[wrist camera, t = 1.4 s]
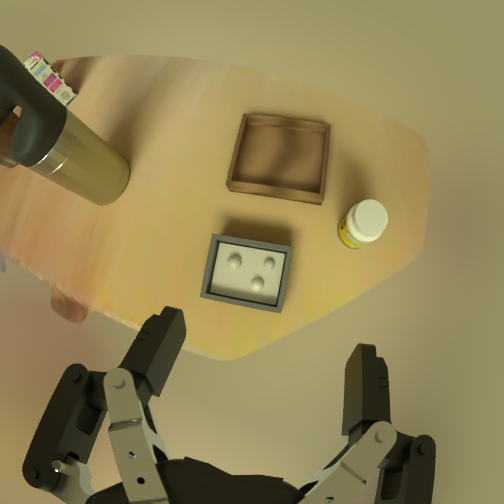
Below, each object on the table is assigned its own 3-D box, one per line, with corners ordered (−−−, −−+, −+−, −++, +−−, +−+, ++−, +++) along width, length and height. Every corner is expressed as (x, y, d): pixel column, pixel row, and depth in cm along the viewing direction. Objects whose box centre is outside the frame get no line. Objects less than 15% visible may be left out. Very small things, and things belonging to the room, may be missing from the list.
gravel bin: (207, 296, 36) (199, 297, 33) (218, 238, 37) (212, 233, 34) (281, 311, 35) (281, 313, 31) (291, 251, 36) (292, 246, 32)
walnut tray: (229, 191, 38) (225, 184, 35) (245, 123, 39) (243, 113, 37) (321, 205, 36) (323, 199, 34) (328, 134, 38) (330, 124, 35)
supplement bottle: (348, 209, 36) (365, 187, 28) (375, 229, 35) (398, 212, 27) (330, 236, 36) (343, 220, 27) (357, 256, 35) (378, 246, 26)
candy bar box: (79, 93, 47) (43, 56, 30) (65, 108, 46) (26, 73, 30) (67, 82, 49) (36, 49, 32) (55, 95, 48) (22, 64, 32)
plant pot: (39, 146, 46) (-4, 118, 30) (4, 187, 46) (-38, 168, 30) (37, 111, 49) (4, 84, 33) (5, 149, 49) (-29, 128, 33)
